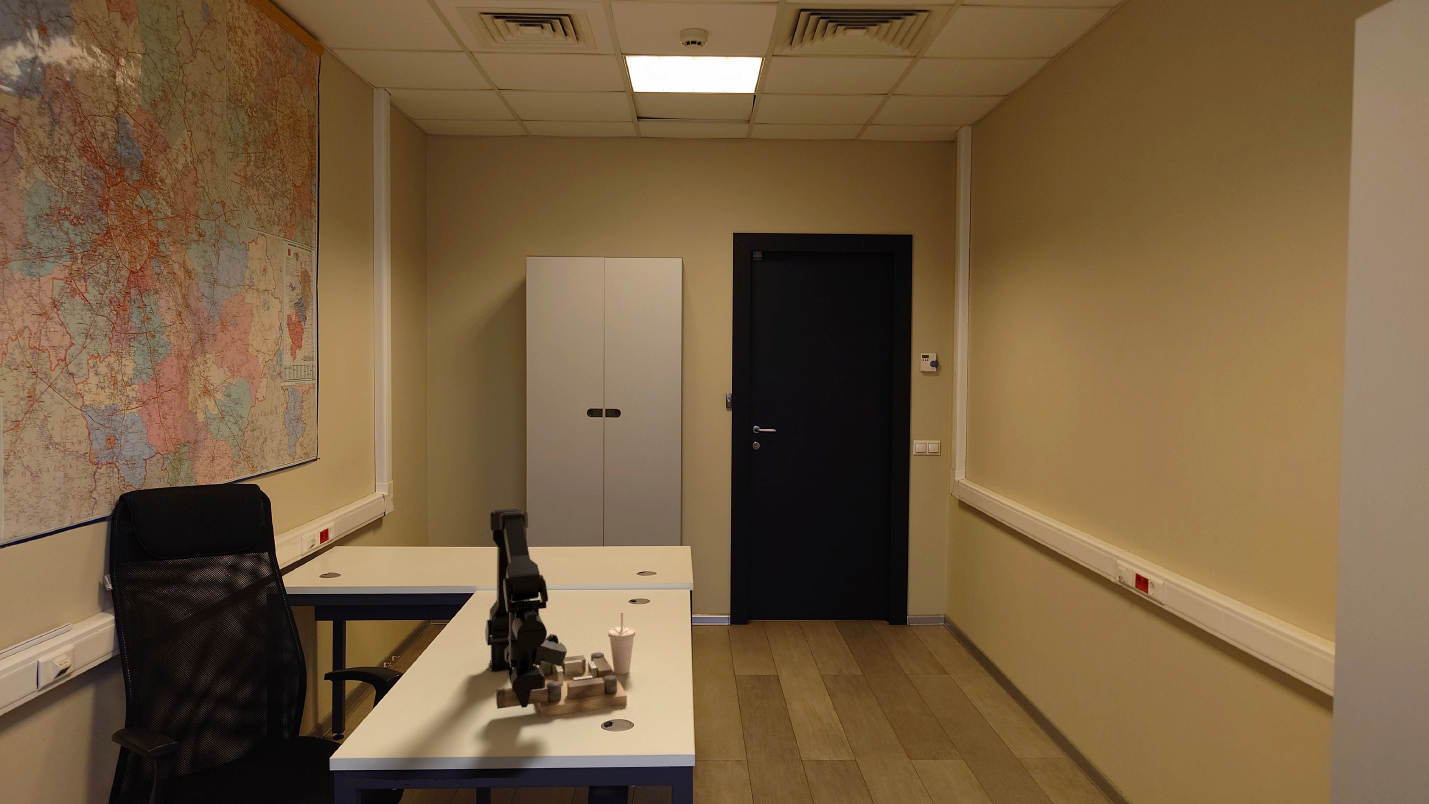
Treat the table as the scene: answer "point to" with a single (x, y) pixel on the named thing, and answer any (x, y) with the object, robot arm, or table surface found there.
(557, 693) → the leg
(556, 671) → the brackets
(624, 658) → the smoothie
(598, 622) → the table surface
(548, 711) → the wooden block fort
